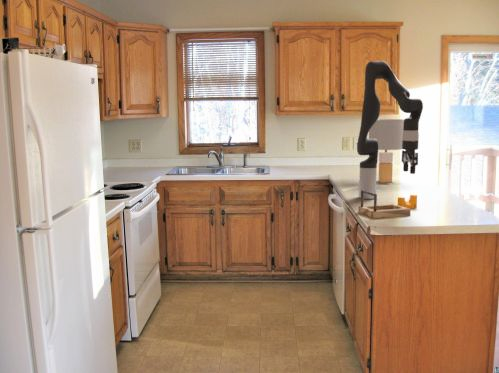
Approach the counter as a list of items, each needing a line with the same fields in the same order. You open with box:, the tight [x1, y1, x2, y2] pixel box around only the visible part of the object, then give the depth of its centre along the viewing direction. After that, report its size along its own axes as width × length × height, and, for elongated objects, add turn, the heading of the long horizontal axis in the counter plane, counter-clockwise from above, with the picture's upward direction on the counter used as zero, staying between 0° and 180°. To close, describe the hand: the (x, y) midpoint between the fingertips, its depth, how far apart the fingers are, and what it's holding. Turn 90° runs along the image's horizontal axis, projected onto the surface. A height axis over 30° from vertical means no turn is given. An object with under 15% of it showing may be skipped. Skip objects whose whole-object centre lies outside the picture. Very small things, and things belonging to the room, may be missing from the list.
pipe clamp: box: [397, 194, 418, 210], centre depth 262 cm, size 12×4×6 cm, turn 127°
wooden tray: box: [358, 190, 412, 219], centre depth 249 cm, size 15×19×11 cm
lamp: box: [368, 118, 405, 184], centre depth 349 cm, size 23×23×42 cm
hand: (409, 172), depth 258 cm, fingers open, 8 cm apart
